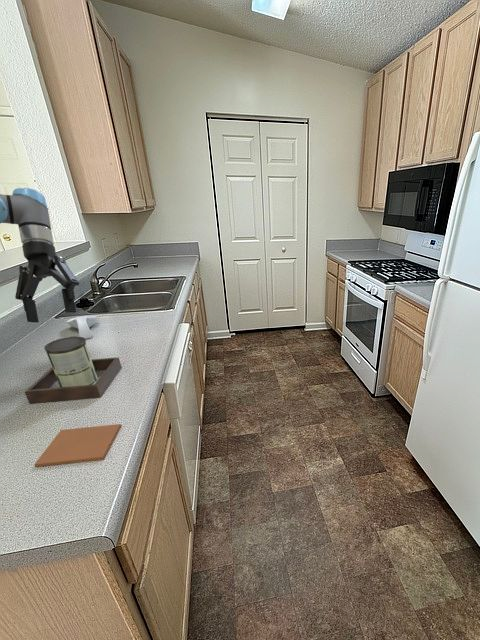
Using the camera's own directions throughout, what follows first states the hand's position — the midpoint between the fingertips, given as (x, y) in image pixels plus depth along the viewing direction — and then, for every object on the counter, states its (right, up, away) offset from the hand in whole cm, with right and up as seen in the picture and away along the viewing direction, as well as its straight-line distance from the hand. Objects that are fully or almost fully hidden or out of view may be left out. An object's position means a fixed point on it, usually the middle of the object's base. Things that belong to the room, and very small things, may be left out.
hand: (51, 317), depth 96 cm
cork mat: (+20, -33, -17) cm, 42 cm away
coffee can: (+3, -20, +9) cm, 22 cm away
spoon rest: (-23, 0, +50) cm, 55 cm away
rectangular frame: (+3, -20, +8) cm, 22 cm away
